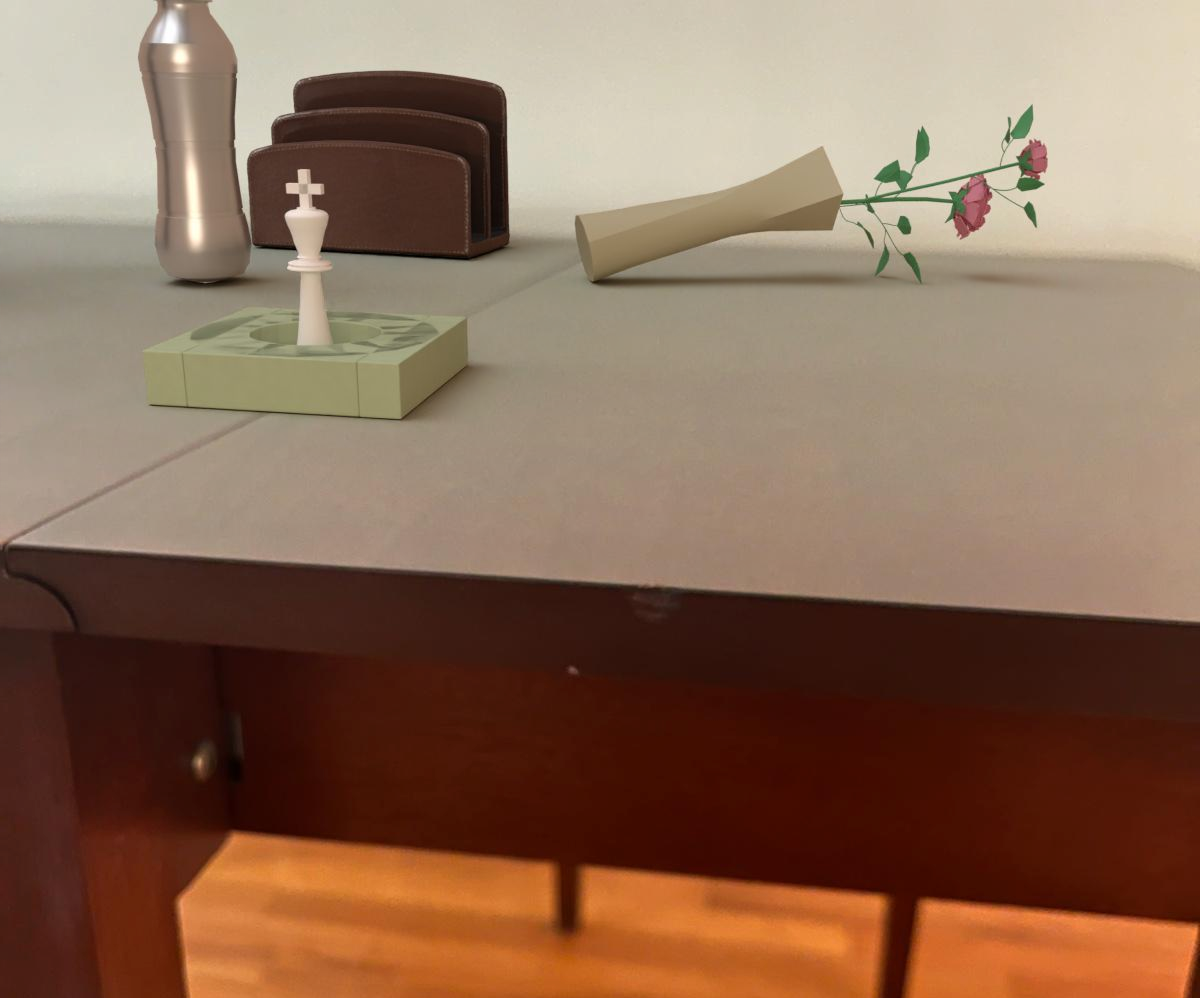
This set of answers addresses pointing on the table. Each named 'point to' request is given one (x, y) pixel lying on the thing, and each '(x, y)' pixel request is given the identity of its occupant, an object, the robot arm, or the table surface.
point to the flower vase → (785, 208)
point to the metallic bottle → (194, 143)
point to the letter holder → (389, 164)
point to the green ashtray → (308, 363)
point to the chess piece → (309, 260)
